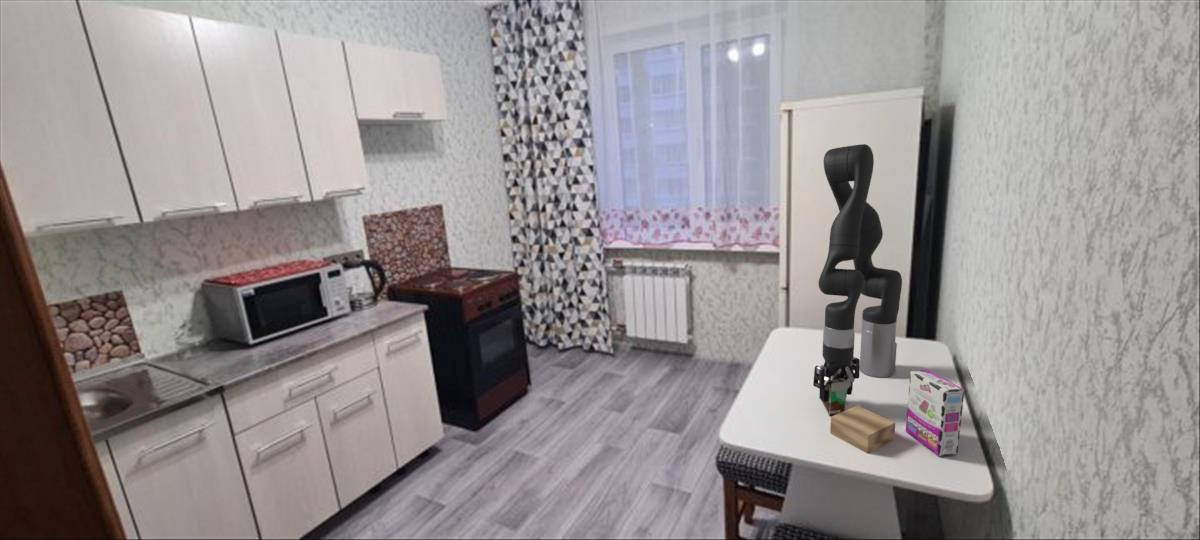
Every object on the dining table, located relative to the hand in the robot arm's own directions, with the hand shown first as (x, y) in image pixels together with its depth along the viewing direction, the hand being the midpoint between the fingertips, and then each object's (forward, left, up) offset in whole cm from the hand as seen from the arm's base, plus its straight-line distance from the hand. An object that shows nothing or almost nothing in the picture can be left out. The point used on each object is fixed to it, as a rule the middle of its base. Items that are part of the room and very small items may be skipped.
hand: (835, 397), depth 133 cm
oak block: (+6, +13, -3) cm, 15 cm away
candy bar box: (-6, +22, -3) cm, 23 cm away
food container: (0, 0, -3) cm, 3 cm away
